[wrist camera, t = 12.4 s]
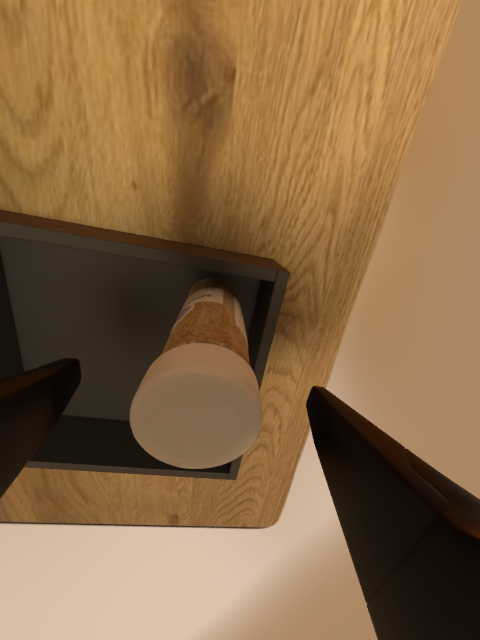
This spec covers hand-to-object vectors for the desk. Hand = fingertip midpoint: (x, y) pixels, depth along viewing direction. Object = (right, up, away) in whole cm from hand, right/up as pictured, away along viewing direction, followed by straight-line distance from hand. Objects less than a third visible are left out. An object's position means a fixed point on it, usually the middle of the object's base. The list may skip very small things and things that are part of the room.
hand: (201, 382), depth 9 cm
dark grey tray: (-8, 0, +13) cm, 15 cm away
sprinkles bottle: (-1, +4, +11) cm, 12 cm away
